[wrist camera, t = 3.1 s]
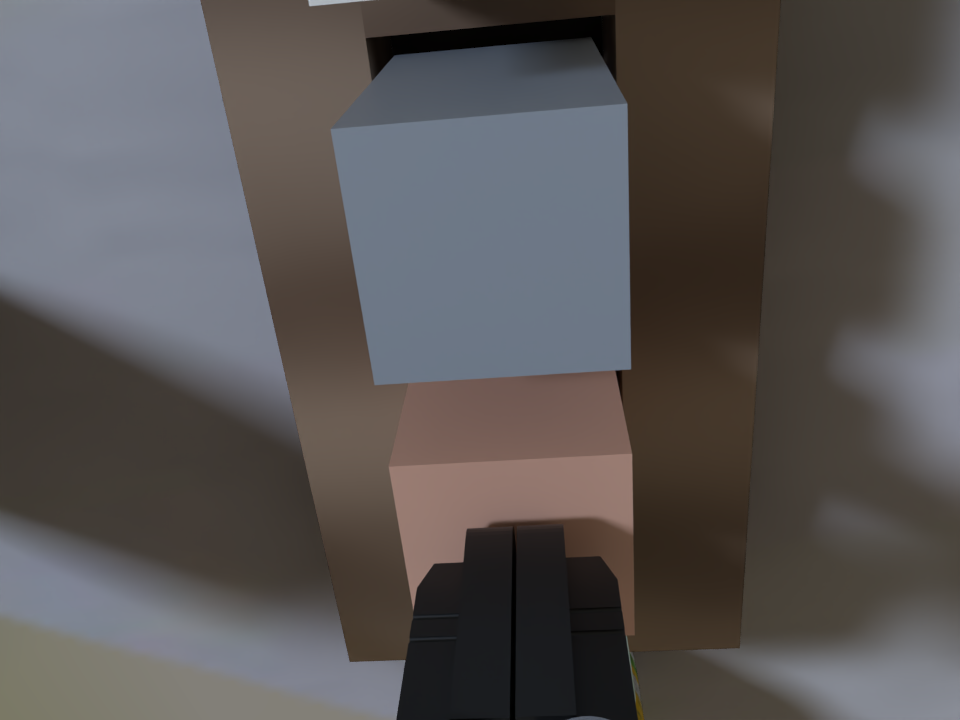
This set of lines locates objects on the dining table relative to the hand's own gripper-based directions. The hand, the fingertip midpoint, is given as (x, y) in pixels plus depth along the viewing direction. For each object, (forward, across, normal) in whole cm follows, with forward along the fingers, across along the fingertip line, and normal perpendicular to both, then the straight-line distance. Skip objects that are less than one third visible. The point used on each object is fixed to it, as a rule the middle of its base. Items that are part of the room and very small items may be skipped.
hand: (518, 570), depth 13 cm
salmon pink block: (+6, 0, 0) cm, 6 cm away
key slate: (+6, 0, -5) cm, 8 cm away
